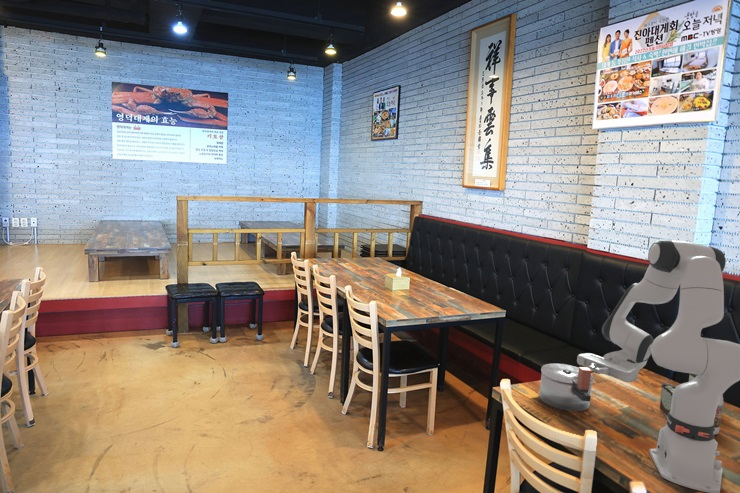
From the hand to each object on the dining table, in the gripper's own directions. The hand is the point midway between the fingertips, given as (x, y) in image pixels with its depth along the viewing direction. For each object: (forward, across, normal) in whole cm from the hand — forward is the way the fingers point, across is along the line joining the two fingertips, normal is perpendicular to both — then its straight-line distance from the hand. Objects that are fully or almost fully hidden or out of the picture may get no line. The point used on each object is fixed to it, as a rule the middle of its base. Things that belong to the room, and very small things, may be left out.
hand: (593, 370), depth 173 cm
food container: (-31, +15, +17) cm, 39 cm away
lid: (-1, -9, +7) cm, 12 cm away
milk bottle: (-30, +26, +17) cm, 43 cm away
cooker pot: (-2, -10, +17) cm, 20 cm away
